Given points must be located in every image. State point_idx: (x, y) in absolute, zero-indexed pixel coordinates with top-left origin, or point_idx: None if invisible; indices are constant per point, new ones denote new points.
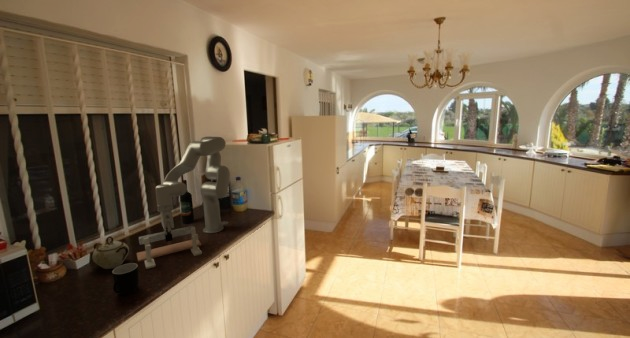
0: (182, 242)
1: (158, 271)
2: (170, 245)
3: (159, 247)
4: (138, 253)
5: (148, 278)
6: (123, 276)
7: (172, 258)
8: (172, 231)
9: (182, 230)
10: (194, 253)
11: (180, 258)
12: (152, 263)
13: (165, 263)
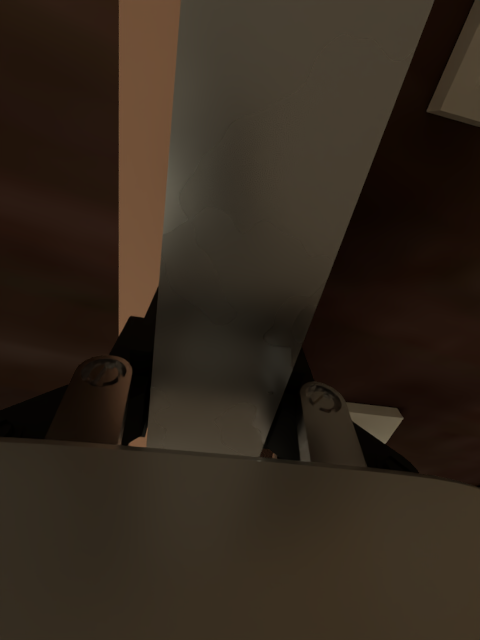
0: (139, 84)
1: (465, 411)
2: (139, 242)
3: (119, 328)
4: (137, 440)
5: (475, 450)
6: None
7: (398, 310)
8: (266, 363)
9: (379, 121)
10: None
11: (464, 269)
12: (371, 424)
13: (419, 364)
